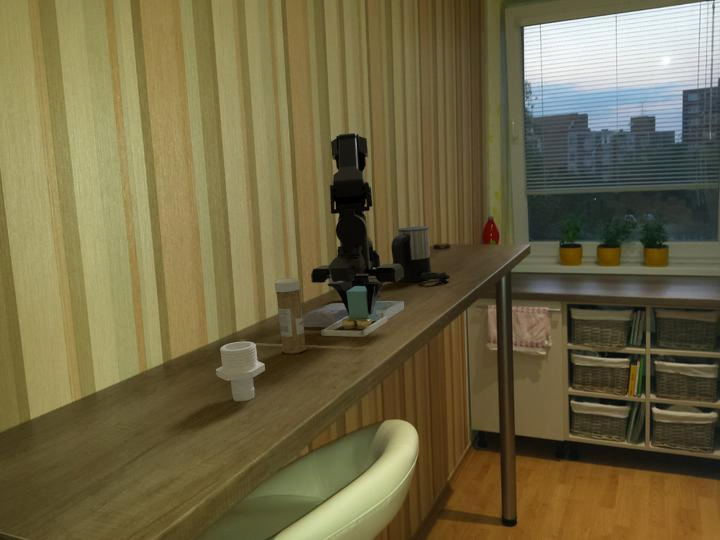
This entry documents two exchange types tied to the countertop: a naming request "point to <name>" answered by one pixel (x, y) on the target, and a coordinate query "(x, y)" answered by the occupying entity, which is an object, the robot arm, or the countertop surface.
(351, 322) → the chip
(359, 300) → the mint green brick
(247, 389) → the pipe fitting
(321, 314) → the stone block
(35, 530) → the countertop surface
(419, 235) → the milk frother
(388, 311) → the channel
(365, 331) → the chip tray
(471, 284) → the countertop surface
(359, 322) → the chip
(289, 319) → the sprinkles bottle
